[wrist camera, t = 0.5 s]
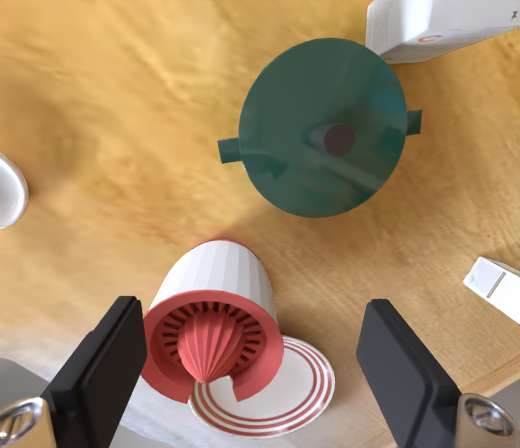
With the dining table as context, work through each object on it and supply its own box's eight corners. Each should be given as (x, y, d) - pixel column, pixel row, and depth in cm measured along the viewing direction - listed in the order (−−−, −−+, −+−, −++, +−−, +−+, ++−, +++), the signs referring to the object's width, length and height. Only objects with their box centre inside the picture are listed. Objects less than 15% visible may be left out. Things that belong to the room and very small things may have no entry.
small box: (433, 1, 32) (548, -74, 20) (424, 62, 34) (522, 28, 22) (365, 5, 32) (440, -70, 19) (361, 66, 34) (425, 33, 22)
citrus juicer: (179, 319, 46) (133, 451, 28) (169, 225, 40) (101, 314, 22) (269, 317, 47) (283, 445, 28) (272, 225, 41) (293, 311, 22)
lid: (224, 56, 25) (217, 35, 19) (405, 28, 25) (453, -1, 19) (252, 224, 31) (253, 247, 25) (397, 202, 31) (432, 220, 25)
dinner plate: (359, 372, 53) (366, 387, 50) (264, 442, 59) (265, 459, 56) (258, 294, 45) (258, 307, 42) (161, 384, 52) (155, 400, 48)
